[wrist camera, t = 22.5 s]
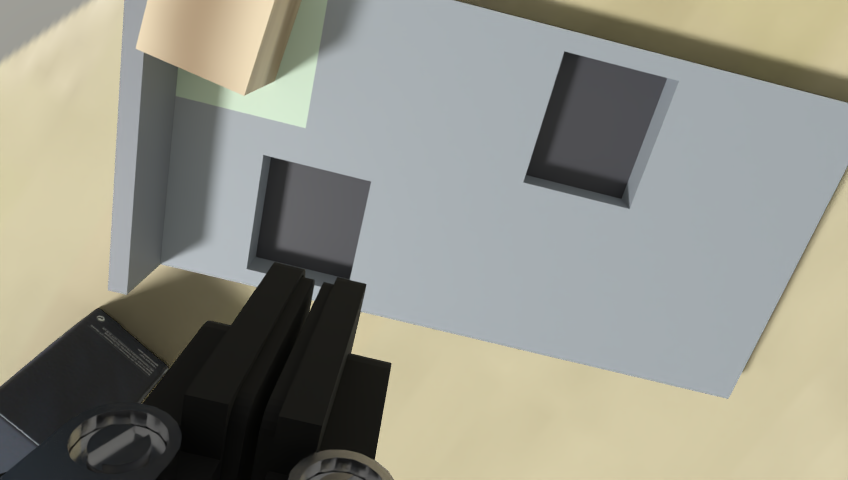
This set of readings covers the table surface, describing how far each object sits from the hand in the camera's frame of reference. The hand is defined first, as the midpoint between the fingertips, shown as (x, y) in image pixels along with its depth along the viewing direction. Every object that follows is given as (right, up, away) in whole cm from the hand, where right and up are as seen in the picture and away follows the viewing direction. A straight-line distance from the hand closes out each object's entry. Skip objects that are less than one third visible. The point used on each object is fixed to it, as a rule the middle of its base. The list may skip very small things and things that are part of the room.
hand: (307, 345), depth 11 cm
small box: (-21, -7, +31) cm, 38 cm away
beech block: (-7, +13, +20) cm, 25 cm away
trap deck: (+5, +5, +25) cm, 26 cm away
